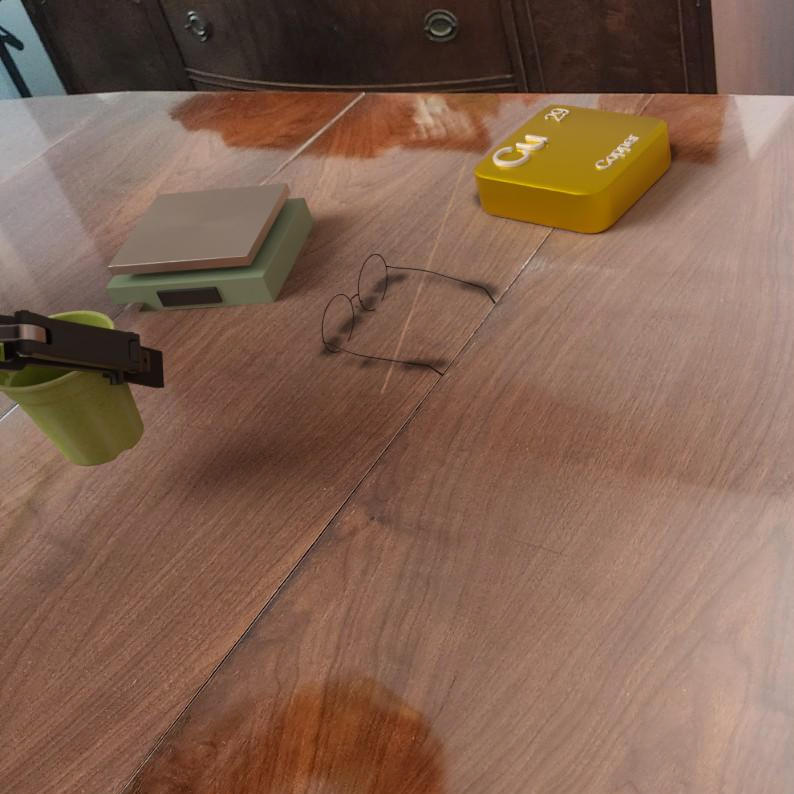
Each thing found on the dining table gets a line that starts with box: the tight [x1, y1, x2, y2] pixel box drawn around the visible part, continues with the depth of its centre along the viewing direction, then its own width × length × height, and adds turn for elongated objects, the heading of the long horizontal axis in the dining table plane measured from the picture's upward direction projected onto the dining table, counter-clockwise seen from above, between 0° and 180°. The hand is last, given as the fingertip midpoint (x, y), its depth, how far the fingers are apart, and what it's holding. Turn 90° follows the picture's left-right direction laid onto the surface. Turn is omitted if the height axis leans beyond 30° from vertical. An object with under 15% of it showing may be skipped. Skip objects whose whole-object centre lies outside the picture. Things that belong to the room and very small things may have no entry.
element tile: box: [473, 104, 672, 235], centre depth 110 cm, size 15×15×5 cm
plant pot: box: [0, 310, 145, 467], centre depth 83 cm, size 9×9×9 cm
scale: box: [105, 197, 315, 313], centre depth 109 cm, size 16×14×4 cm
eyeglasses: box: [321, 253, 497, 377], centre depth 97 cm, size 11×13×5 cm
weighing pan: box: [107, 182, 291, 277], centre depth 108 cm, size 14×13×1 cm
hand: (97, 373), depth 85 cm, fingers closed on plant pot, 9 cm apart
